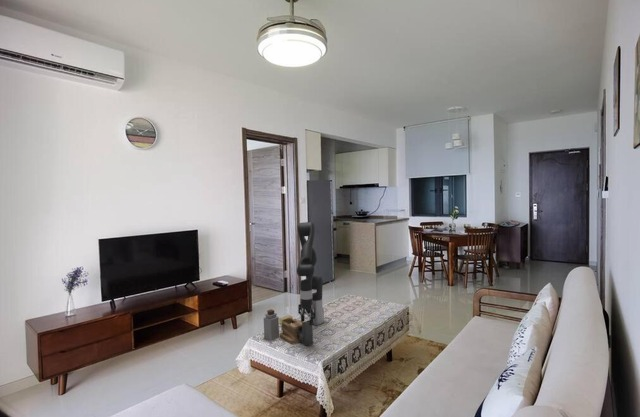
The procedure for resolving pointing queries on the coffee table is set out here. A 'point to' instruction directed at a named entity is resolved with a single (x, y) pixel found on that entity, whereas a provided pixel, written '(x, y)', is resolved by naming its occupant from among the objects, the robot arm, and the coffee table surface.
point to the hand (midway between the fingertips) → (306, 323)
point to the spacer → (286, 319)
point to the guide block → (290, 331)
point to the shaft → (305, 333)
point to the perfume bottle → (271, 325)
